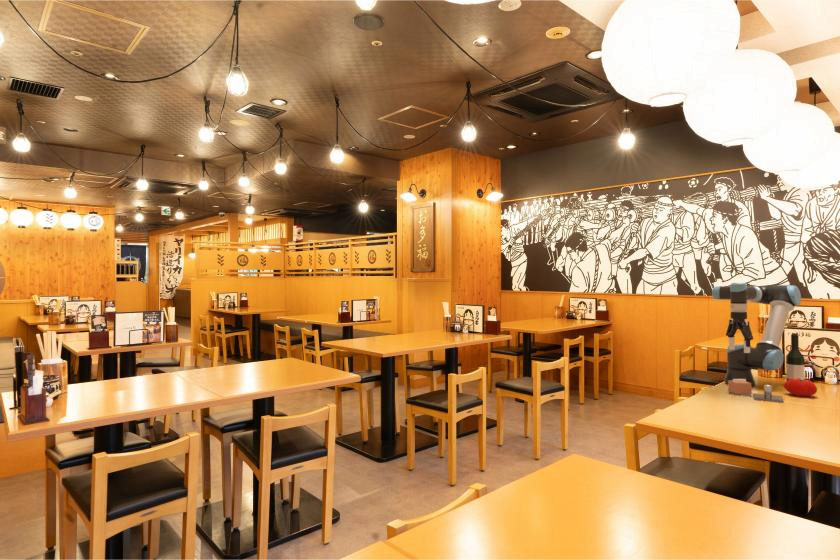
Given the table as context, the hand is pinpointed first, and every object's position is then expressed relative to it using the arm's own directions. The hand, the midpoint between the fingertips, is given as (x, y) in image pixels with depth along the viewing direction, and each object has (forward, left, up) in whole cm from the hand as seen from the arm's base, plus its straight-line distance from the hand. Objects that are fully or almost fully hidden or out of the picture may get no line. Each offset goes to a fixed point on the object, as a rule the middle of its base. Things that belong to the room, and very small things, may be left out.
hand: (739, 351), depth 264 cm
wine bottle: (-39, +27, -23) cm, 53 cm away
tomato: (-11, +27, -23) cm, 37 cm away
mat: (0, 0, -23) cm, 23 cm away
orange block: (0, 0, -22) cm, 22 cm away
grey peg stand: (+7, +12, -23) cm, 27 cm away
